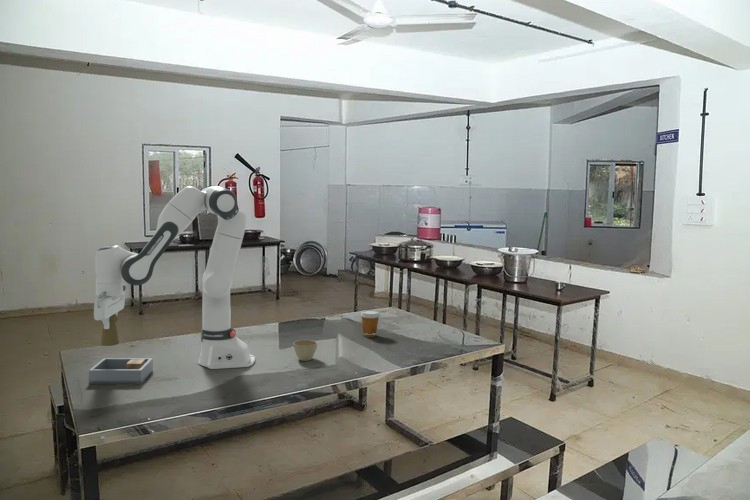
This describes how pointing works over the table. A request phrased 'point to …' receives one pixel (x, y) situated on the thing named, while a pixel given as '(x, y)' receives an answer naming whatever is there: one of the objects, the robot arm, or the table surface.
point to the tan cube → (135, 363)
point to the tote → (119, 371)
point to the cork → (110, 333)
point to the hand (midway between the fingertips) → (110, 326)
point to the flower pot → (305, 349)
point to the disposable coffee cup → (369, 321)
